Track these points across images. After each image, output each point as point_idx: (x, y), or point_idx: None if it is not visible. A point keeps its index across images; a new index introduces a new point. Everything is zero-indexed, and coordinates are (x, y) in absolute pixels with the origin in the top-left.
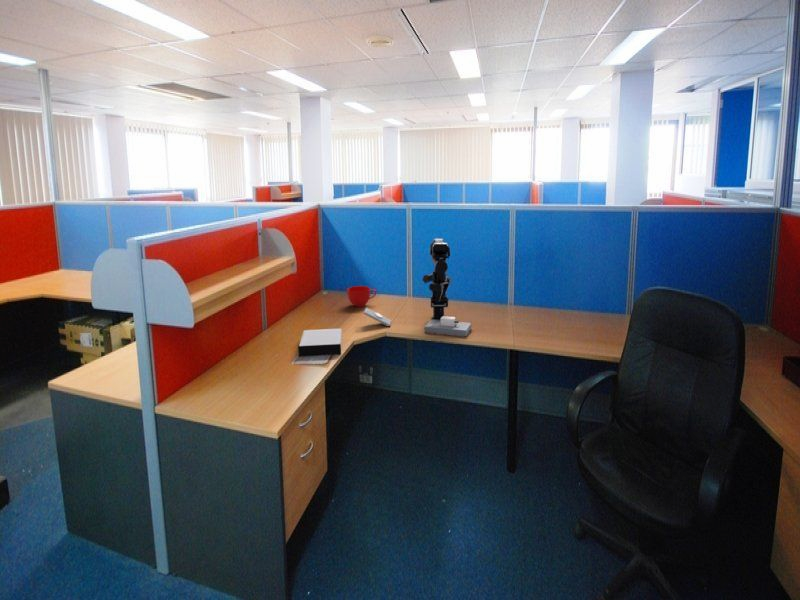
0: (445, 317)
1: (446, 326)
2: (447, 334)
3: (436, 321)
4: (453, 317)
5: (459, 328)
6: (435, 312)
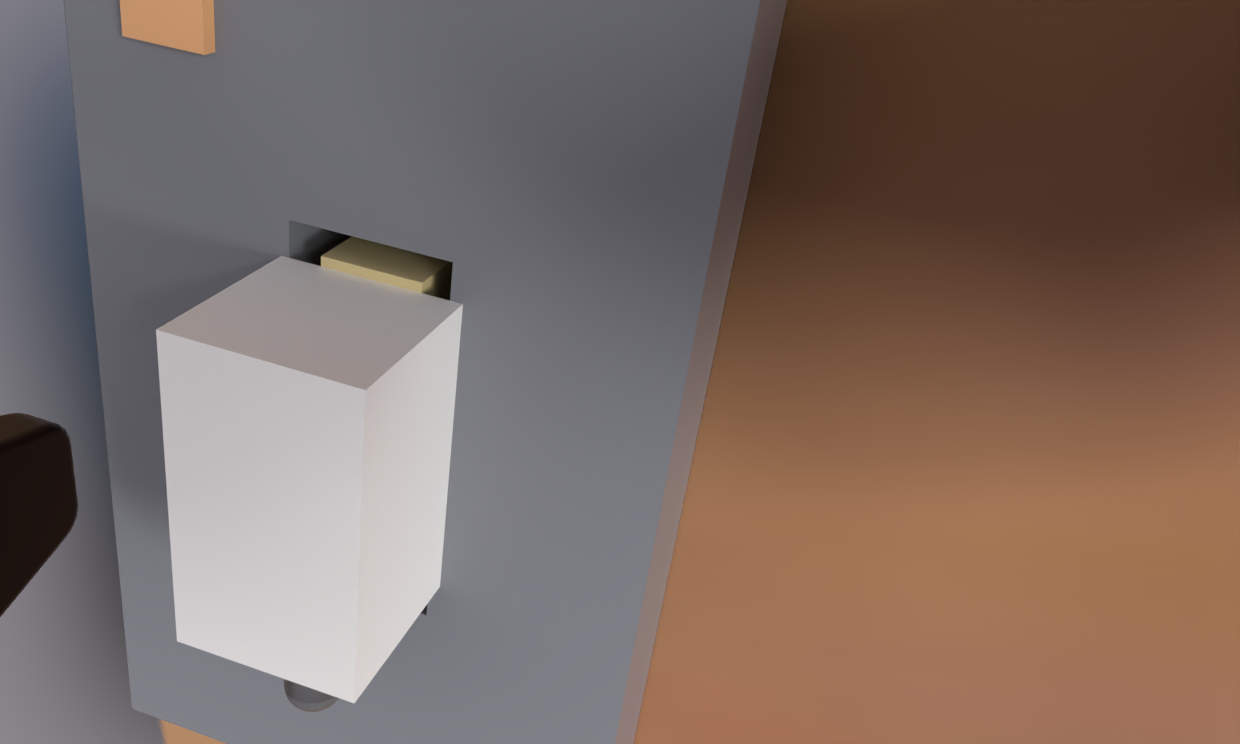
0: (259, 462)
1: None
2: None
3: (572, 127)
4: (320, 654)
5: None
6: None
